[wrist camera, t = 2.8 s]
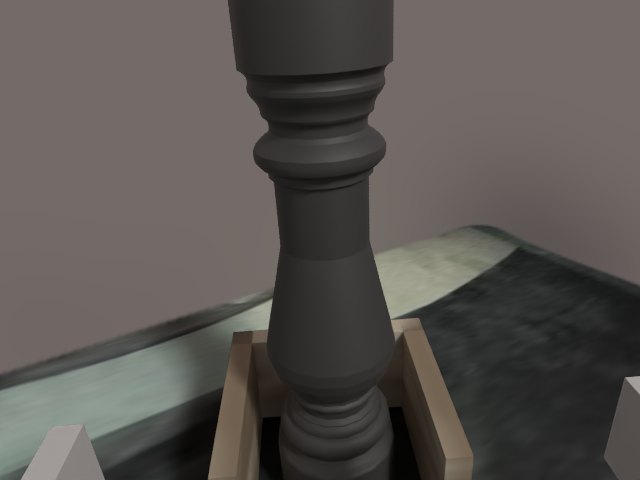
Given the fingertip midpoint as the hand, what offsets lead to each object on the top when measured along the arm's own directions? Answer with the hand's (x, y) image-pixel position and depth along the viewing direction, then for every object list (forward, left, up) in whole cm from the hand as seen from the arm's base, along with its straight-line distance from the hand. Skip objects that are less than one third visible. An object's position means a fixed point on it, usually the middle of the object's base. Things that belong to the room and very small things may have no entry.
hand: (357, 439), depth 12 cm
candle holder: (0, +10, -14) cm, 18 cm away
